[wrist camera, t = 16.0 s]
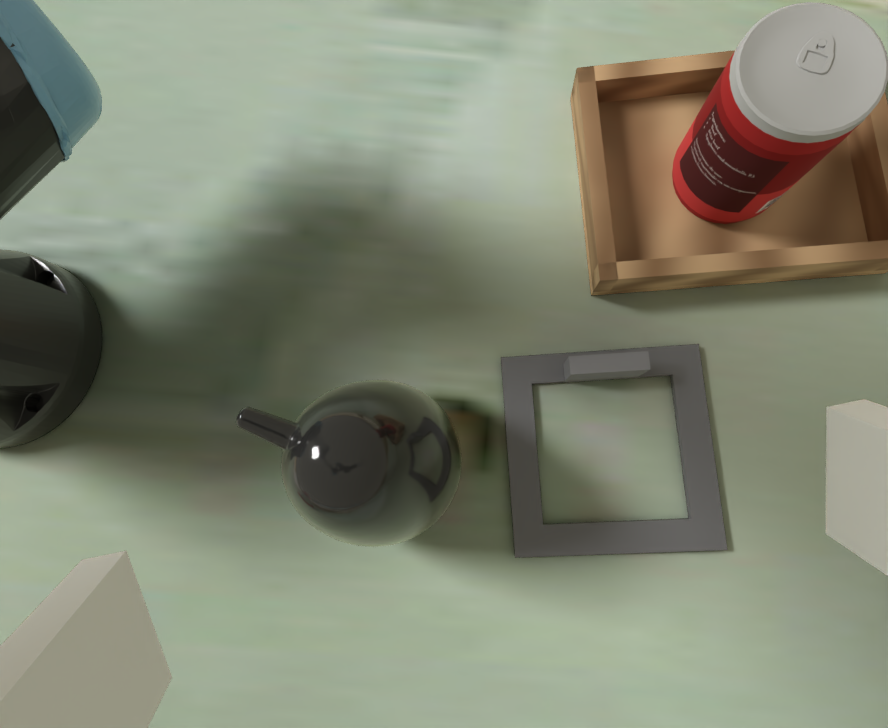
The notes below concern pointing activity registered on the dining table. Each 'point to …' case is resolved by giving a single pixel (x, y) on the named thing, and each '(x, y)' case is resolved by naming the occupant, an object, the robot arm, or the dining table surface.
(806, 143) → the canned food
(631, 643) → the dining table surface
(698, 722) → the dining table surface
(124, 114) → the dining table surface
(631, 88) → the tray
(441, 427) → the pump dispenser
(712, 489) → the frame
